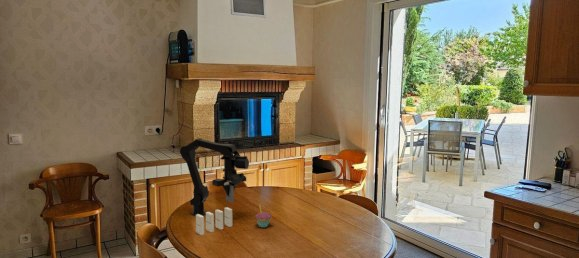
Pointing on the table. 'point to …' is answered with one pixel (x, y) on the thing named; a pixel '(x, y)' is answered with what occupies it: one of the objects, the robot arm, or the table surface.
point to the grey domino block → (230, 194)
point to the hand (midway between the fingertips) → (229, 195)
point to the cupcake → (263, 218)
